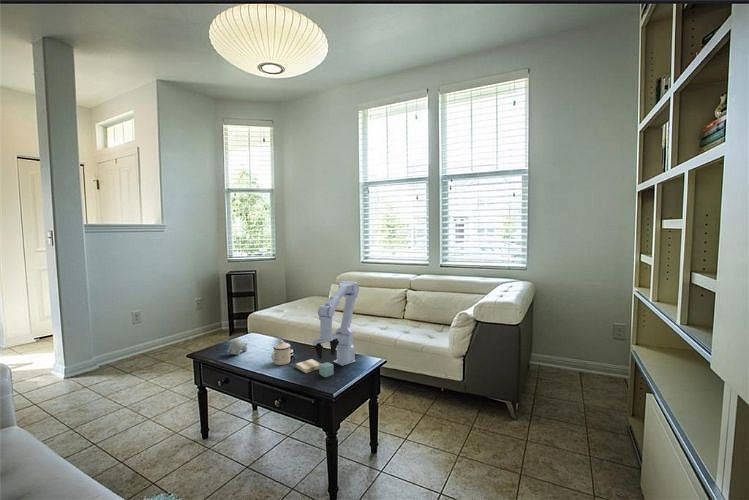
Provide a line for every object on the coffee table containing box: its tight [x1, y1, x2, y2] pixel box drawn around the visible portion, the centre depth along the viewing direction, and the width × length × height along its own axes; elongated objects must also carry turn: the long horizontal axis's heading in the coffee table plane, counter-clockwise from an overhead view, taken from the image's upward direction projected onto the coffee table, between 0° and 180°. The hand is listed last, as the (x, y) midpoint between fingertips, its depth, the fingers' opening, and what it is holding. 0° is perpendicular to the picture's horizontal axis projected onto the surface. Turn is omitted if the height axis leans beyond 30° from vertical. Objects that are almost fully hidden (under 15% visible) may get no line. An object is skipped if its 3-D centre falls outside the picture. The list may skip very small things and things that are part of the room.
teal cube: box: [318, 362, 335, 378], centre depth 176 cm, size 5×5×5 cm
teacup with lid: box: [271, 340, 292, 366], centre depth 191 cm, size 12×9×12 cm
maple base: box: [295, 358, 322, 374], centre depth 185 cm, size 10×10×2 cm
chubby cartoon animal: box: [226, 338, 249, 356], centre depth 205 cm, size 7×12×8 cm, turn 144°
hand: (326, 356), depth 176 cm, fingers open, 7 cm apart
